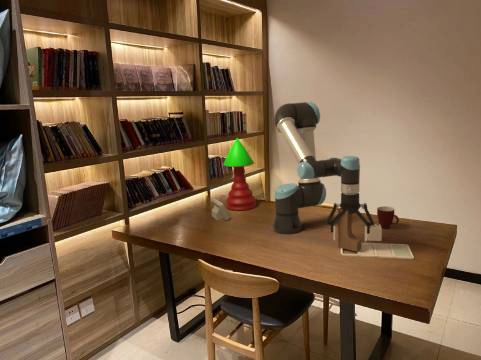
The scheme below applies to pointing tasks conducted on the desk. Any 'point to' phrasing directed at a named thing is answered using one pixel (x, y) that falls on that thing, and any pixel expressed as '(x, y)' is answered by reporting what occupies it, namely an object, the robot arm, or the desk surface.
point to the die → (375, 233)
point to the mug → (386, 217)
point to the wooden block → (347, 233)
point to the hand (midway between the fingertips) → (349, 239)
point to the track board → (383, 251)
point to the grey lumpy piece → (219, 210)
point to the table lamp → (239, 178)
